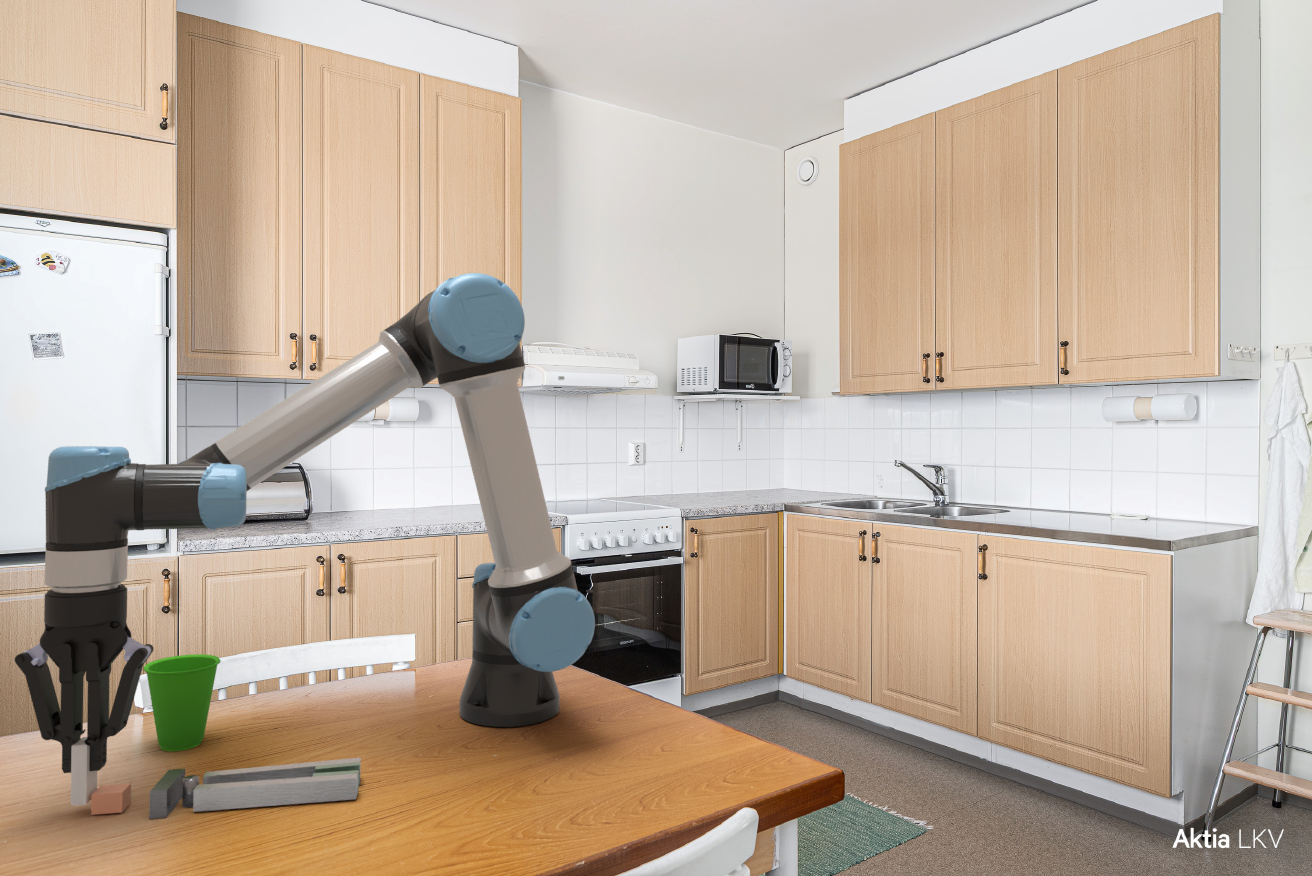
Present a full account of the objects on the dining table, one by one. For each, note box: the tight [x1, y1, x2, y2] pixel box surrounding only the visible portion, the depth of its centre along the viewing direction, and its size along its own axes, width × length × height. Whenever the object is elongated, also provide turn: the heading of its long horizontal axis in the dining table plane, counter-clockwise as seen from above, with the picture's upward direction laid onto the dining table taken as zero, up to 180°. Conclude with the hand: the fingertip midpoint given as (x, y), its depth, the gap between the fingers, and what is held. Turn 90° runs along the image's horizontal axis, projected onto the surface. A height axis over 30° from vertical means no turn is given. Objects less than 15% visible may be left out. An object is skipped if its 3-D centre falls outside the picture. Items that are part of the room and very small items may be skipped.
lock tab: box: [90, 783, 132, 816], centre depth 92 cm, size 3×2×2 cm
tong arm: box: [202, 757, 362, 786], centre depth 98 cm, size 17×2×2 cm, turn 107°
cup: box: [142, 653, 221, 752], centre depth 111 cm, size 9×9×11 cm
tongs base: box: [148, 768, 360, 820], centre depth 95 cm, size 21×6×3 cm, turn 103°
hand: (84, 799), depth 91 cm, fingers closed
